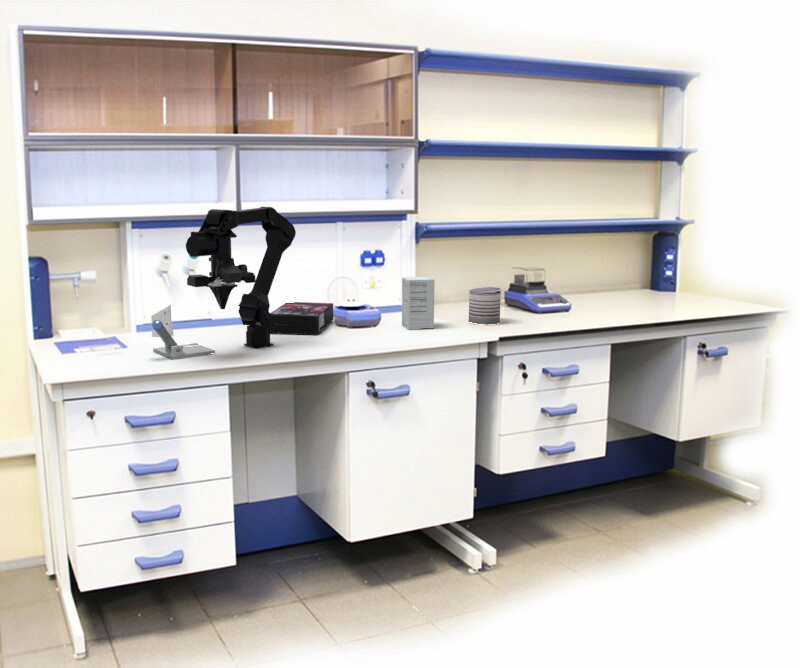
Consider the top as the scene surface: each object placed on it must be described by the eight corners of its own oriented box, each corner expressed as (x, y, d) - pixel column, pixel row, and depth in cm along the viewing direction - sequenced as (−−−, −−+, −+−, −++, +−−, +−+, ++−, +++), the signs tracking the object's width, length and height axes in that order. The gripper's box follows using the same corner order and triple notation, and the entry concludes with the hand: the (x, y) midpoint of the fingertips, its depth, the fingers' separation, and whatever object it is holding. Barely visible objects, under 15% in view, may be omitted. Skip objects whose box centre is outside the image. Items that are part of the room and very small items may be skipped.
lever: (176, 345, 241) (156, 317, 236) (181, 347, 238) (161, 318, 233) (168, 352, 240) (148, 324, 234) (173, 353, 237) (152, 325, 232)
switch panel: (195, 346, 254) (194, 334, 253) (214, 353, 244) (214, 341, 243) (153, 351, 246) (152, 339, 245) (172, 359, 236) (171, 347, 235)
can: (503, 325, 294) (505, 290, 292) (471, 325, 293) (472, 291, 291) (496, 319, 306) (497, 286, 303) (465, 319, 304) (465, 286, 302)
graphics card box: (265, 314, 273) (287, 299, 299) (266, 335, 274) (287, 318, 301) (317, 316, 271) (334, 301, 297) (317, 337, 272) (334, 320, 298)
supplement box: (434, 329, 285) (435, 279, 282) (407, 330, 283) (408, 280, 280) (426, 324, 294) (427, 276, 291) (401, 325, 292) (401, 276, 289)
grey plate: (184, 329, 268) (169, 305, 266) (157, 344, 268) (142, 321, 267) (186, 327, 271) (172, 303, 270) (160, 342, 272) (145, 319, 270)
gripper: (203, 258, 227) (205, 316, 230) (264, 255, 238) (265, 309, 241) (185, 255, 235) (187, 310, 238) (245, 251, 247) (246, 304, 250)
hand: (222, 309), depth 241 cm, fingers closed
